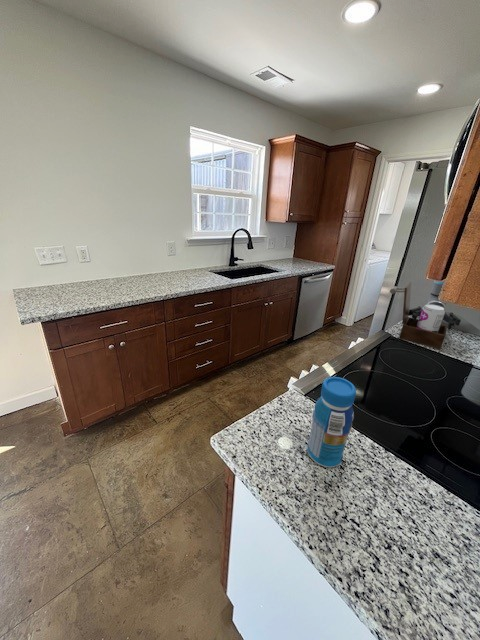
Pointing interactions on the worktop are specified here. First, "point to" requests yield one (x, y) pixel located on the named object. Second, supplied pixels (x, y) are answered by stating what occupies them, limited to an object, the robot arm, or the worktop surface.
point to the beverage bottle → (331, 422)
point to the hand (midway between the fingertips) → (432, 322)
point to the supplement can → (431, 318)
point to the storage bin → (422, 334)
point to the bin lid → (406, 299)
